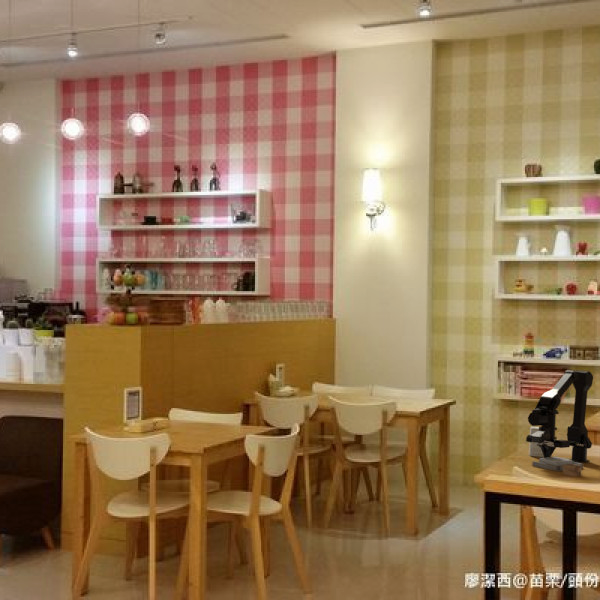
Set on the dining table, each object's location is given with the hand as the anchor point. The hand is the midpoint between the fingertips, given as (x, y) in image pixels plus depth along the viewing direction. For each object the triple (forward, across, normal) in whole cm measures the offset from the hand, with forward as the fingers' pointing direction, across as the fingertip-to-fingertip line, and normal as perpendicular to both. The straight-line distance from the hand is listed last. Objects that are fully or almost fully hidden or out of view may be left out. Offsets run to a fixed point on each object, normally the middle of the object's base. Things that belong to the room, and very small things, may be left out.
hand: (546, 461), depth 385 cm
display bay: (+2, +5, 0) cm, 5 cm away
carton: (+2, +6, -2) cm, 6 cm away
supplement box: (+2, -18, +17) cm, 25 cm away
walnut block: (+2, +20, -9) cm, 22 cm away
